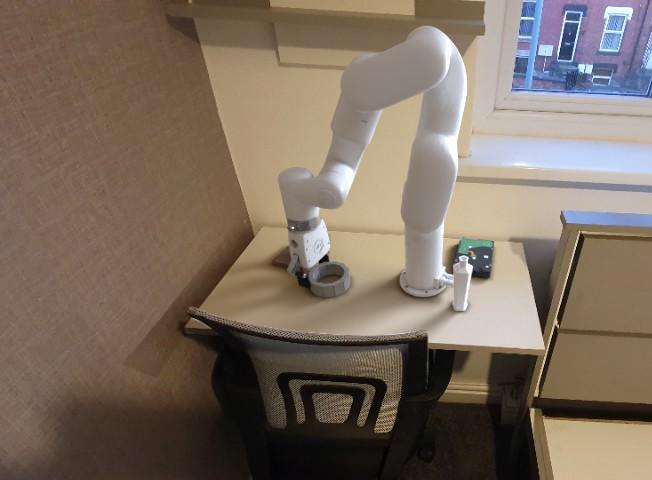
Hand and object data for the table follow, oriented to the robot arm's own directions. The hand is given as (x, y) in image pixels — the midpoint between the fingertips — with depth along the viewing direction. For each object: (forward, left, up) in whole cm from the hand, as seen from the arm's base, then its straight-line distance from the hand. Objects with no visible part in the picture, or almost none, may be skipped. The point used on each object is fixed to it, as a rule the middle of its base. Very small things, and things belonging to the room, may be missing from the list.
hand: (315, 275), depth 103 cm
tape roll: (-5, 0, -1) cm, 5 cm away
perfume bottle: (-39, -5, -2) cm, 39 cm away
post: (+9, -6, -1) cm, 11 cm away
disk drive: (-37, -24, -2) cm, 44 cm away
